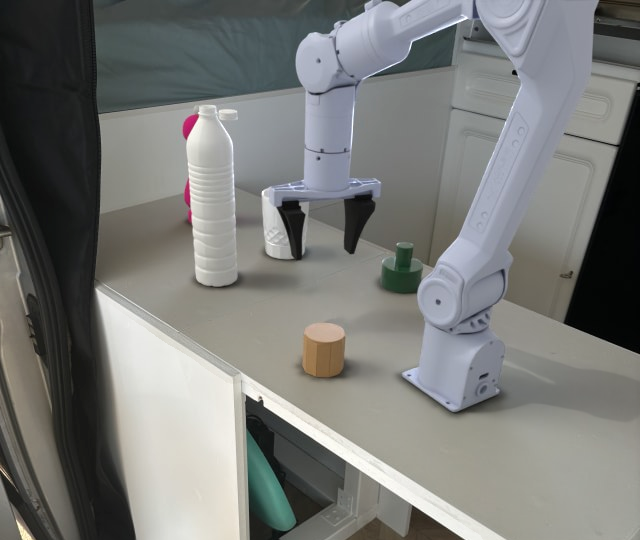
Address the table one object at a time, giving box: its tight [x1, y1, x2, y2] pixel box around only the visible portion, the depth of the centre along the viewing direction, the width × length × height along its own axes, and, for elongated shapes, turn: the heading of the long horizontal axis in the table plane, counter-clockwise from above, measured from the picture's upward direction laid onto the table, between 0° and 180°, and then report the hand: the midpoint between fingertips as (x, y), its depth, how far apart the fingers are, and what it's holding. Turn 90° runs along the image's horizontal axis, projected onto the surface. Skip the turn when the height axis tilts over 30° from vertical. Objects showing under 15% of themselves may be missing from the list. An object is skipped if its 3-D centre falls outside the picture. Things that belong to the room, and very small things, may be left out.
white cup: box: [261, 187, 310, 260], centre depth 110 cm, size 8×8×10 cm
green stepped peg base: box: [379, 241, 424, 294], centre depth 102 cm, size 6×6×6 cm
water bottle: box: [185, 104, 239, 288], centre depth 95 cm, size 9×6×25 cm
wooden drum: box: [301, 322, 347, 379], centre depth 82 cm, size 5×5×5 cm
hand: (323, 254), depth 88 cm, fingers open, 7 cm apart
